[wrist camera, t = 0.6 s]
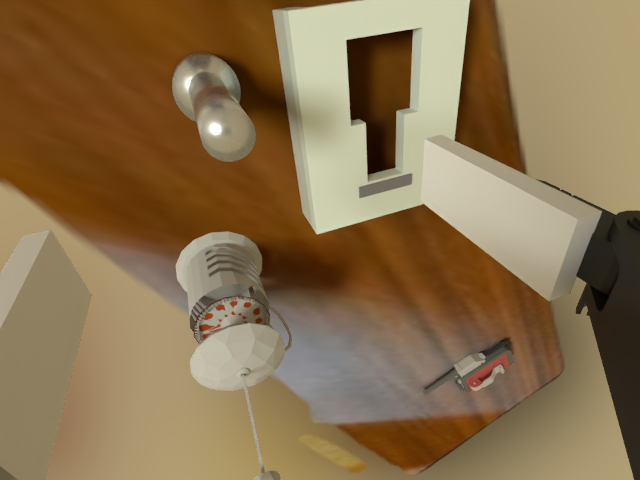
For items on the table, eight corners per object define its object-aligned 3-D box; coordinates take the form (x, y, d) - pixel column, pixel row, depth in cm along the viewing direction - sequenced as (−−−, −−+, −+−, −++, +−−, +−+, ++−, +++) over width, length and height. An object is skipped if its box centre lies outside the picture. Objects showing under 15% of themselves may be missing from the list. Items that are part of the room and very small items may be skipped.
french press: (205, 216, 39) (248, 441, 19) (290, 258, 45) (387, 457, 25) (158, 284, 41) (151, 548, 21) (245, 314, 48) (302, 537, 28)
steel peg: (162, 57, 30) (160, 93, 18) (228, 47, 31) (267, 74, 19) (183, 124, 33) (193, 191, 21) (243, 112, 34) (283, 169, 23)
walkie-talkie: (502, 329, 73) (418, 384, 73) (520, 346, 69) (431, 404, 69) (508, 350, 78) (429, 402, 78) (524, 367, 74) (441, 421, 75)
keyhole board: (272, 9, 31) (288, 10, 27) (436, -13, 35) (473, -15, 30) (302, 212, 42) (317, 235, 38) (423, 180, 46) (449, 197, 42)
